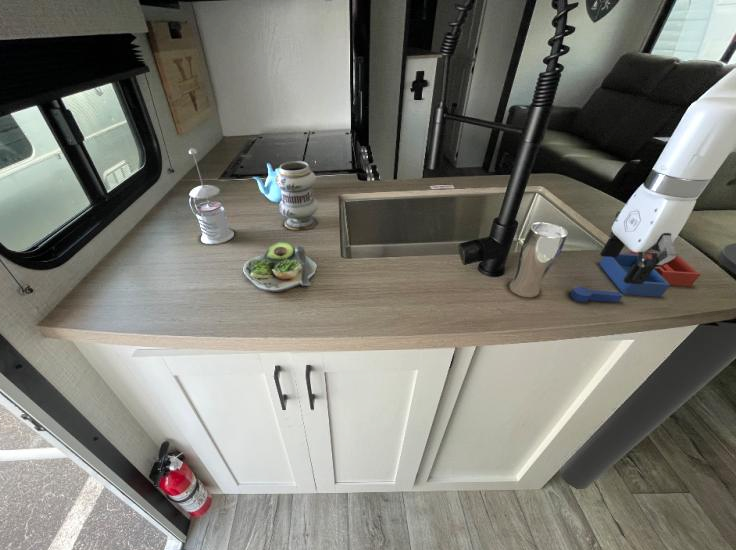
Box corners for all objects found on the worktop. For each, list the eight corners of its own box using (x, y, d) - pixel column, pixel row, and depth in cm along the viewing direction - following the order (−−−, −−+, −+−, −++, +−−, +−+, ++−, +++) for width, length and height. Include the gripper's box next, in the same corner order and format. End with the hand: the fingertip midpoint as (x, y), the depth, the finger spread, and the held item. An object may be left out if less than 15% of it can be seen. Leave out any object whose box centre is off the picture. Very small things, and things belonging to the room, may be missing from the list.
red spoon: (679, 281, 74) (684, 275, 73) (662, 280, 74) (666, 274, 73) (656, 260, 81) (660, 253, 80) (640, 259, 81) (644, 252, 80)
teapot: (307, 190, 126) (304, 163, 119) (296, 206, 114) (293, 176, 108) (271, 189, 128) (266, 162, 121) (257, 204, 116) (251, 175, 110)
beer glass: (511, 297, 72) (536, 237, 62) (503, 279, 77) (525, 221, 68) (545, 299, 71) (575, 238, 61) (534, 281, 76) (560, 222, 67)
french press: (218, 246, 93) (191, 155, 78) (189, 238, 98) (158, 151, 82) (240, 232, 100) (219, 145, 84) (212, 225, 104) (187, 141, 89)
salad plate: (336, 279, 79) (335, 263, 76) (270, 307, 72) (267, 291, 69) (296, 247, 92) (295, 232, 89) (237, 269, 84) (233, 253, 81)
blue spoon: (613, 295, 71) (617, 289, 70) (620, 305, 69) (625, 298, 68) (567, 292, 73) (571, 285, 72) (573, 301, 70) (577, 295, 69)
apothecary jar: (286, 235, 98) (277, 174, 86) (278, 218, 107) (269, 162, 95) (324, 227, 101) (320, 168, 89) (313, 212, 110) (308, 156, 98)
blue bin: (599, 264, 81) (606, 252, 79) (631, 266, 80) (639, 254, 78) (623, 294, 72) (632, 282, 69) (660, 297, 70) (670, 284, 68)
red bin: (627, 256, 83) (634, 244, 81) (659, 257, 82) (667, 246, 80) (654, 284, 74) (663, 271, 72) (690, 286, 73) (701, 274, 71)
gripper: (623, 167, 62) (581, 246, 73) (681, 203, 49) (620, 292, 59) (668, 168, 61) (619, 248, 71) (739, 205, 47) (666, 296, 58)
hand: (619, 268), depth 65 cm, fingers open, 9 cm apart
